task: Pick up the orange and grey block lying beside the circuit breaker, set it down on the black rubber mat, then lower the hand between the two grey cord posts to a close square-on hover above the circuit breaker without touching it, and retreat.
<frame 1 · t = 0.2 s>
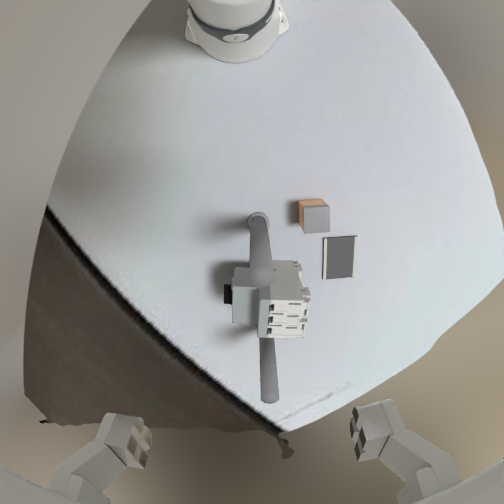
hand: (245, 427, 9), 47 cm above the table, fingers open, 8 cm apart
circuit breaker: (262, 276, 60), on the table
mat: (339, 257, 58), on the table
orange and grey block: (310, 211, 55), on the table
cord posts: (262, 276, 60), on the table
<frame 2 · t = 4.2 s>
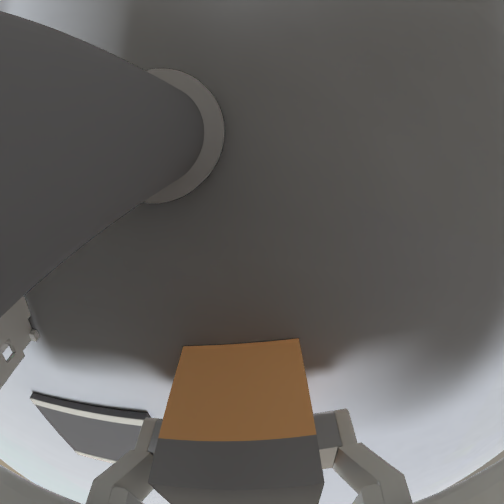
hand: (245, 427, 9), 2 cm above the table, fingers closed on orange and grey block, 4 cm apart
mat: (105, 436, 14), on the table
orange and grey block: (246, 382, 12), on the table, touching gripper
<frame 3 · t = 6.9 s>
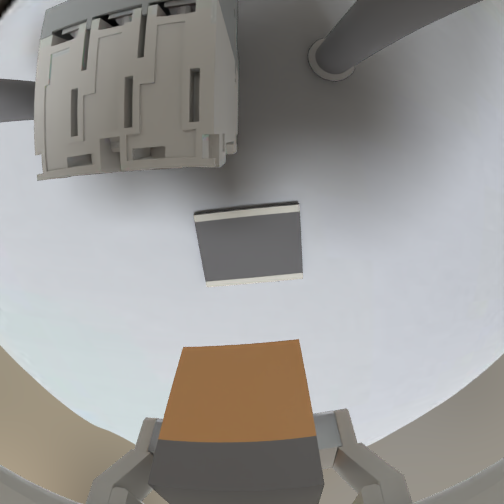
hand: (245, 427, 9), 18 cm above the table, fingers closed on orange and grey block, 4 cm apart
circuit breaker: (194, 71, 21), on the table
mat: (250, 246, 26), on the table
orange and grey block: (246, 382, 12), point 16 cm above the table, touching gripper
cord posts: (193, 70, 20), on the table
when the fingers open (4 cm above the table, at t = 9.7 s): orange and grey block drops 1 cm, resting on mat.
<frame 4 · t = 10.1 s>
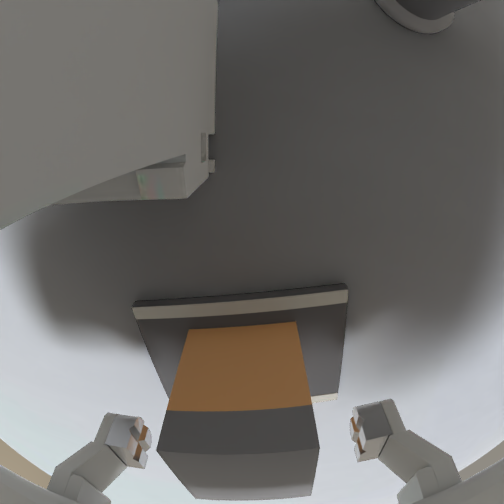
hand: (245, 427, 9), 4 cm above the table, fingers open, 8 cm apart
circuit breaker: (126, 8, 8), on the table
mat: (246, 357, 13), on the table
orange and grey block: (247, 364, 13), resting on mat
cord posts: (123, 6, 7), on the table
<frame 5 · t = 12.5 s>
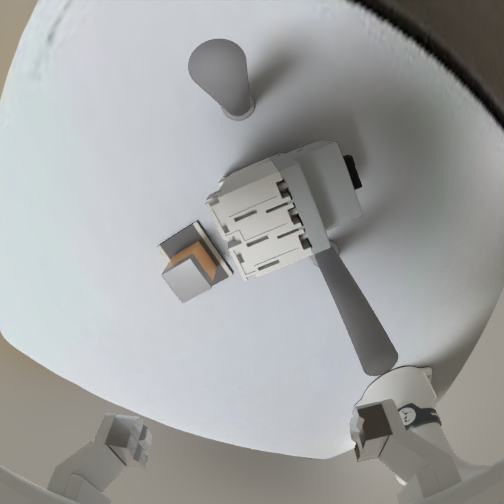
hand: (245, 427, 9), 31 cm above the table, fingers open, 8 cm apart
circuit breaker: (284, 181, 37), on the table
mat: (195, 259, 41), on the table
orange and grey block: (194, 261, 40), resting on mat
cord posts: (285, 181, 37), on the table
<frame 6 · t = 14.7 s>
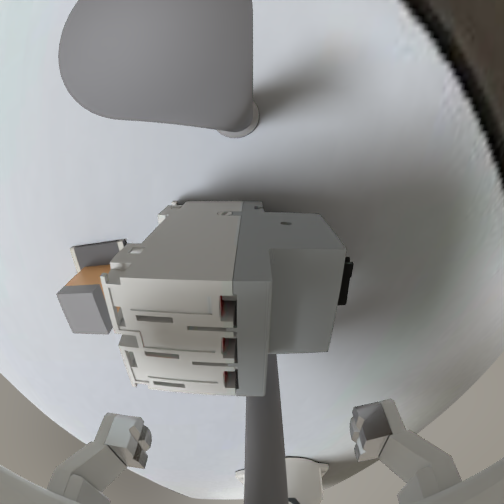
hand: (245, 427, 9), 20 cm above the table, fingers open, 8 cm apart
circuit breaker: (249, 239, 28), on the table
mat: (108, 281, 29), on the table
orange and grey block: (106, 284, 29), resting on mat
cord posts: (249, 240, 28), on the table
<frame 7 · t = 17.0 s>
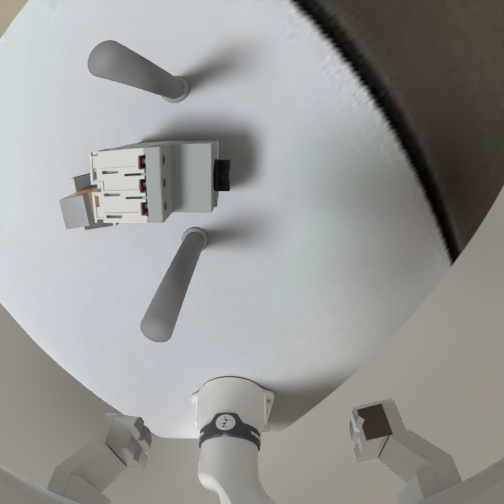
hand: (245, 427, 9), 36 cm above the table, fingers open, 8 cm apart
circuit breaker: (184, 165, 41), on the table
mat: (94, 200, 42), on the table
orange and grey block: (92, 201, 42), resting on mat
cord posts: (183, 165, 40), on the table
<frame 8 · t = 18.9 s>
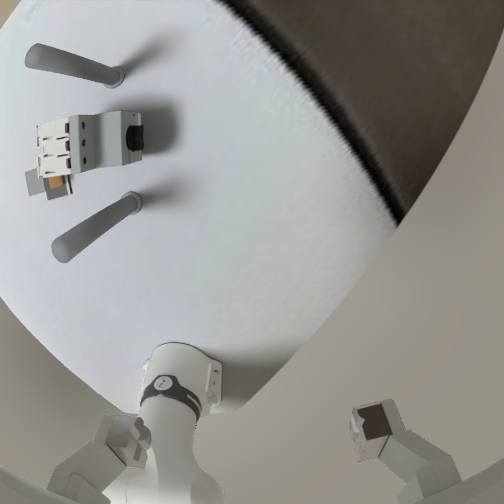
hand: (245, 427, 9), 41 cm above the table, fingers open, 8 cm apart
circuit breaker: (120, 139, 44), on the table
mat: (54, 174, 45), on the table
orange and grey block: (53, 175, 45), resting on mat
cord posts: (120, 139, 43), on the table
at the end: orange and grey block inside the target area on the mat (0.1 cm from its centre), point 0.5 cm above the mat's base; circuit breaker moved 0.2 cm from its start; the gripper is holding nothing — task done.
